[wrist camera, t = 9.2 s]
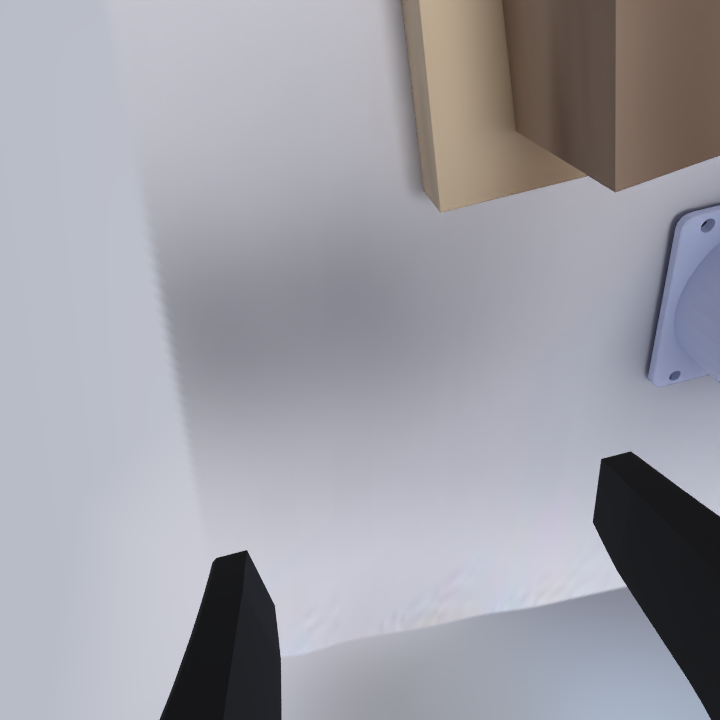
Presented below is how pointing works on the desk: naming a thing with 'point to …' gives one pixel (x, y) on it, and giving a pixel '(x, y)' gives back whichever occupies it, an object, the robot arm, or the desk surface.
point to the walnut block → (617, 83)
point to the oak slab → (469, 106)
